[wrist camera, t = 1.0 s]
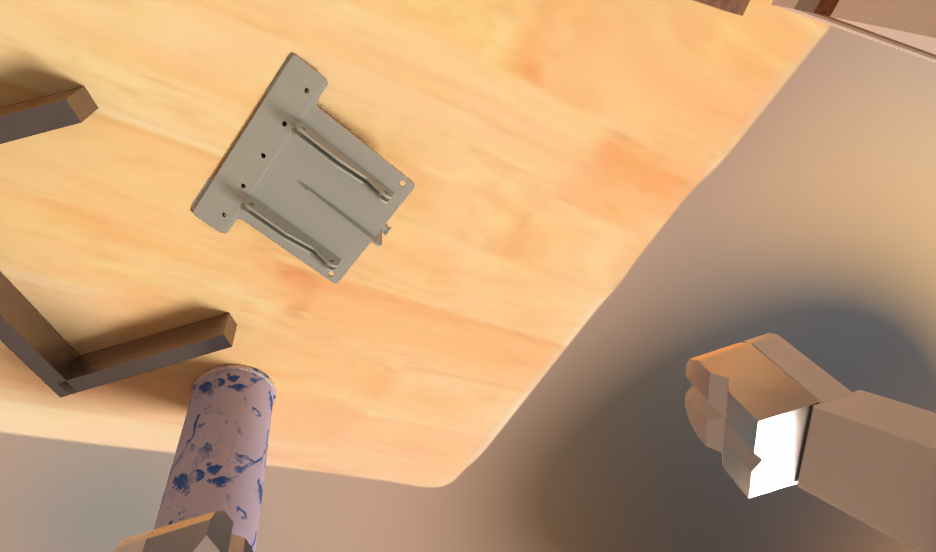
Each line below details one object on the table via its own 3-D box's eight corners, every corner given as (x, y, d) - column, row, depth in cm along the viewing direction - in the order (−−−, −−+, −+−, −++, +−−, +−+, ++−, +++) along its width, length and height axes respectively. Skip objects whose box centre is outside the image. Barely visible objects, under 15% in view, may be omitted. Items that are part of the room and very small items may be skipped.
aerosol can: (215, 428, 54) (167, 643, 38) (175, 378, 49) (102, 600, 33) (288, 406, 55) (271, 609, 39) (256, 355, 50) (222, 562, 34)
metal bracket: (439, 178, 38) (326, 316, 42) (443, 161, 43) (341, 286, 48) (269, 40, 34) (165, 209, 39) (295, 40, 39) (201, 189, 44)
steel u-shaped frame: (-147, 146, 33) (-184, 164, 31) (84, 86, 34) (65, 99, 32) (74, 372, 47) (60, 397, 44) (236, 324, 47) (231, 346, 45)
